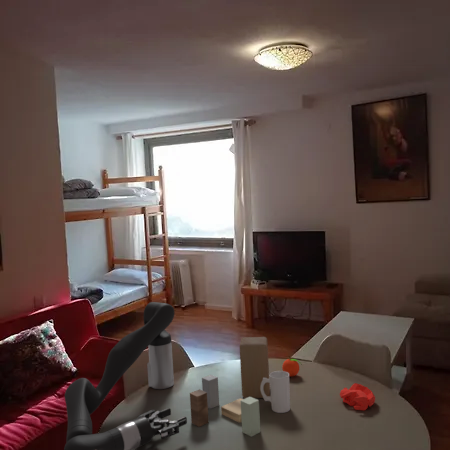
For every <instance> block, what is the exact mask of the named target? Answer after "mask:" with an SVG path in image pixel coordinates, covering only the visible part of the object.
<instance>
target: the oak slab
mask: <svg viewBox="0 0 450 450" xmlns="http://www.w3.org/2000/svg"><path fill="white" fill-rule="evenodd" d="M243 399H244V398H241V397H240V398H237V399H235V400H234V401H231V402H229V403H226V404H224V405H222V406H221V407H220V408H221V409H220V410H221V415H222V416H225V417H227V418H229V419H230V420H232V421H235V422H237V423H240V424H241V423H242V419H241V400H243Z"/></svg>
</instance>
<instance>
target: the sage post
mask: <svg viewBox="0 0 450 450" xmlns="http://www.w3.org/2000/svg"><path fill="white" fill-rule="evenodd" d="M242 399H243V400H241V419H242V422H241V430H242V431H241V432H242V434H246V436H249V437H254V436H256V435H257V434H259V433H261V418H260V416H261V415H260V401H259V399H258V398H252V397H248V398H242Z"/></svg>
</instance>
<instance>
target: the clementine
mask: <svg viewBox="0 0 450 450" xmlns="http://www.w3.org/2000/svg"><path fill="white" fill-rule="evenodd" d="M299 363H300V361H299V360H298V359H295V358H287V359H285V360H284V361H283V363H282V367H281V368H282V371H285V372H288V373H289V378H290V377H295V376H296V375H298V374H299V371H300V364H301V365H302V363H300V364H299ZM302 366H303V365H302Z"/></svg>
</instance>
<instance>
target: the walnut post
mask: <svg viewBox="0 0 450 450" xmlns="http://www.w3.org/2000/svg"><path fill="white" fill-rule="evenodd" d="M189 403H190V405H189V406H190V415H191V416H190V418H191V419H190V420H191V424H192V425H194V426H196V427H197V428H198V427H199V428H200V427H203V426H204V425H208V424H209V421H210V420H209V408H208V402H207V392H204V391H203V389H200V388H199V389H196V390H193V391H192V392H189Z"/></svg>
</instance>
